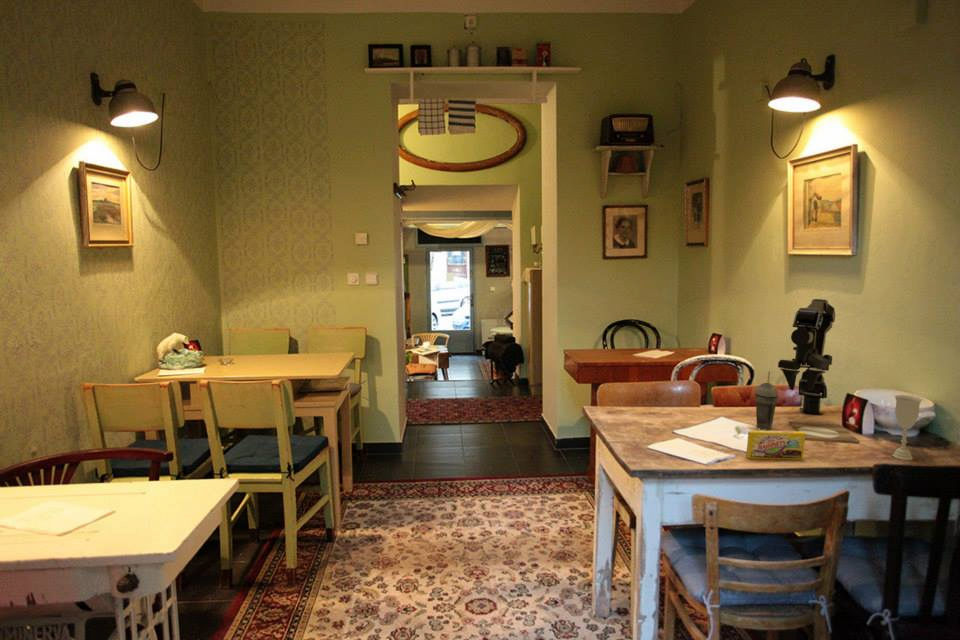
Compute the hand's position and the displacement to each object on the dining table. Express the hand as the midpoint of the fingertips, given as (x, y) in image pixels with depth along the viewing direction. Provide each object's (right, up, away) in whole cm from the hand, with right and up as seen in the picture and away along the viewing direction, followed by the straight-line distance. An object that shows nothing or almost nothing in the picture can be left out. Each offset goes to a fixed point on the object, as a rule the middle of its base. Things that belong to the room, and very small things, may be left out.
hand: (801, 389), depth 225 cm
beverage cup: (-14, -13, -3) cm, 19 cm away
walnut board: (+3, -13, -8) cm, 16 cm away
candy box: (-24, -17, -34) cm, 45 cm away
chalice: (+15, -17, -31) cm, 38 cm away
